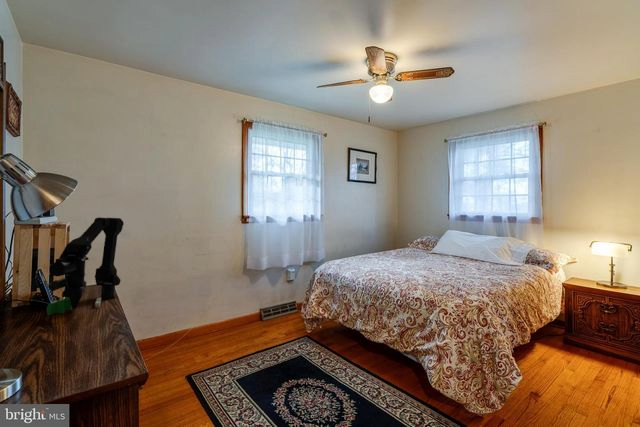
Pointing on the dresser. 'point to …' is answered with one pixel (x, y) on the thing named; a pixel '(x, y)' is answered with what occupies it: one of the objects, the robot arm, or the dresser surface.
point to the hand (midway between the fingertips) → (73, 308)
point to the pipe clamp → (59, 306)
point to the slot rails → (95, 303)
